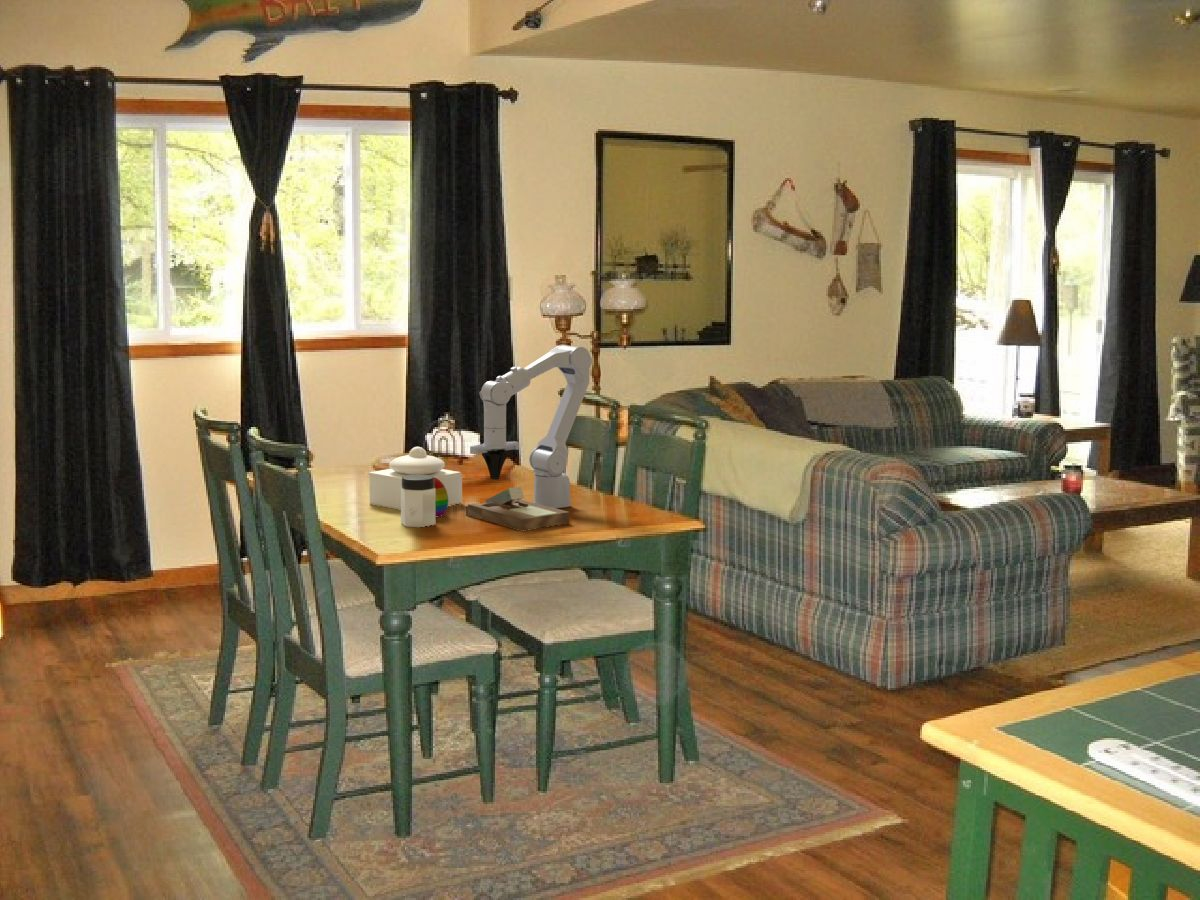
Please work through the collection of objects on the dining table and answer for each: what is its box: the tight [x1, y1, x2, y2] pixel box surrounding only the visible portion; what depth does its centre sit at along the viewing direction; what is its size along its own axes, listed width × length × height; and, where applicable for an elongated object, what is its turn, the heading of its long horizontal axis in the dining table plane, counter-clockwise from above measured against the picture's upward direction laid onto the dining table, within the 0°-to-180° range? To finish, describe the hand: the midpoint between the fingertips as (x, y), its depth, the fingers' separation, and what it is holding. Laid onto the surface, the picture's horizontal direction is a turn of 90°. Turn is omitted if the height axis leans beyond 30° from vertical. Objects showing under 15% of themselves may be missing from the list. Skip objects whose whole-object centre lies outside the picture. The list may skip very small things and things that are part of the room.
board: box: [465, 499, 570, 532], centre depth 341 cm, size 15×24×4 cm, turn 41°
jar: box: [400, 474, 437, 528], centre depth 333 cm, size 9×8×12 cm
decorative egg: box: [434, 477, 449, 517], centre depth 344 cm, size 8×8×10 cm
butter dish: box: [368, 446, 463, 511], centre depth 358 cm, size 18×18×16 cm
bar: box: [485, 486, 525, 507], centre depth 345 cm, size 4×11×3 cm, turn 41°
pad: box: [510, 506, 557, 517], centre depth 336 cm, size 7×10×1 cm
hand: (494, 478), depth 347 cm, fingers closed
